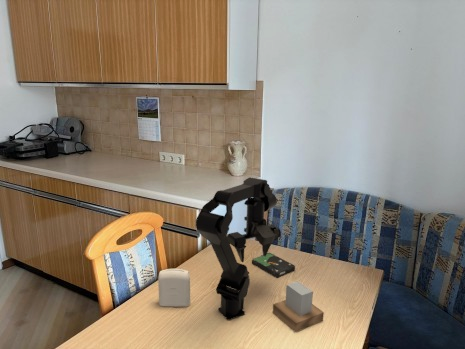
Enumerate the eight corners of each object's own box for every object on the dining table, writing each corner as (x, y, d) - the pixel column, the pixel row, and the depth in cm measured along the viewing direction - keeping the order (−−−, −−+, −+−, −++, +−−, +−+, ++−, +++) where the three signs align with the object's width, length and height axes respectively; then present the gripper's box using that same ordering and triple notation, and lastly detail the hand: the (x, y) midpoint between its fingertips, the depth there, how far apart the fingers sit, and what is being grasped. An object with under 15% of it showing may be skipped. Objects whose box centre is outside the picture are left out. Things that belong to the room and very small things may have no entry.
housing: (285, 304, 113) (286, 284, 111) (296, 300, 115) (297, 280, 113) (300, 316, 107) (301, 295, 105) (311, 311, 109) (313, 291, 108)
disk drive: (295, 272, 141) (268, 257, 152) (295, 265, 140) (269, 251, 151) (277, 280, 134) (250, 264, 146) (277, 273, 134) (251, 258, 145)
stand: (295, 332, 104) (296, 323, 104) (272, 312, 113) (273, 304, 113) (322, 320, 110) (323, 312, 109) (299, 302, 119) (299, 294, 118)
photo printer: (157, 307, 115) (156, 272, 112) (160, 299, 119) (159, 265, 116) (189, 308, 115) (189, 273, 112) (191, 300, 119) (191, 266, 116)
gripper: (244, 228, 106) (243, 275, 110) (293, 218, 116) (290, 262, 119) (226, 217, 115) (225, 261, 119) (272, 208, 125) (270, 249, 128)
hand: (253, 258), depth 121 cm, fingers open, 9 cm apart
